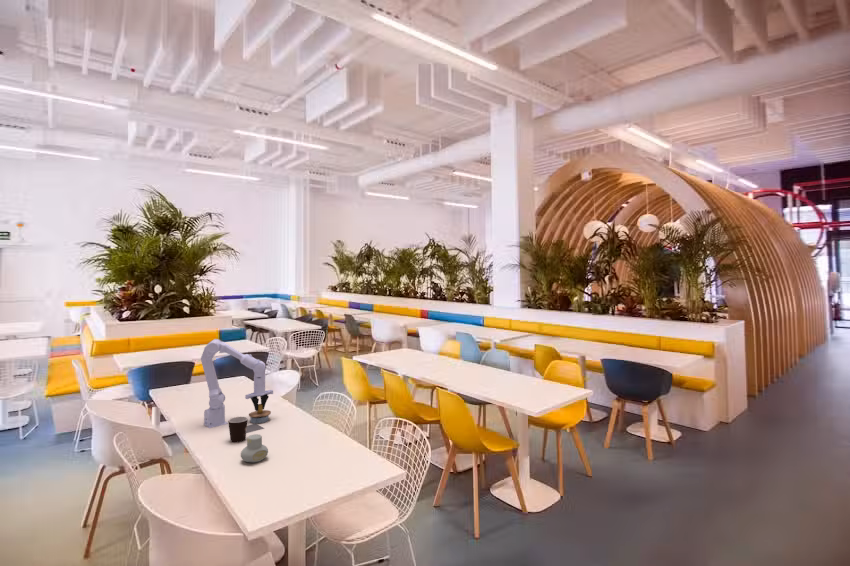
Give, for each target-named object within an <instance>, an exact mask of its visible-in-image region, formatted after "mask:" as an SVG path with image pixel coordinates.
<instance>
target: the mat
mask: <svg viewBox="0 0 850 566" xmlns="http://www.w3.org/2000/svg"><path fill="white" fill-rule="evenodd" d="M262 430H265V427H262V426H261V425H259V423H252V424H247V431H246V434H249V433H253V432H256V431H262Z"/></svg>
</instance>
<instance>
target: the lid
mask: <svg viewBox="0 0 850 566" xmlns="http://www.w3.org/2000/svg"><path fill="white" fill-rule="evenodd" d="M271 413H272V411H271V410H268V409H263V405H262V404H261V403H258V411H256V410H254V411H252V412H249V413H248V418H250V417H264V416H267V415H269V416H270V415H271Z"/></svg>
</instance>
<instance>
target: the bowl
mask: <svg viewBox="0 0 850 566" xmlns="http://www.w3.org/2000/svg"><path fill="white" fill-rule="evenodd" d="M269 416H270V415H267V416H264V417H249V421H250V423H252V424H263V423H267V422H268V421H269V419H270V418H269Z"/></svg>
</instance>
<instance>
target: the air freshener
mask: <svg viewBox="0 0 850 566" xmlns="http://www.w3.org/2000/svg"><path fill="white" fill-rule="evenodd" d="M246 437H247V438H246V446H245V447H244V448H243V449H242V450H241V451H240V458H241V460H243V461H244V462H246V463H251V464H252V463H254V464H255V463H259V462H261V461H262V460H264V459H265V458H266V457H267V456H268V453H269V449H268V447H267V446H266V445H265V444H263V436H262V435H261V434H255V433H254V434H251V435H249V436H246Z"/></svg>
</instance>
